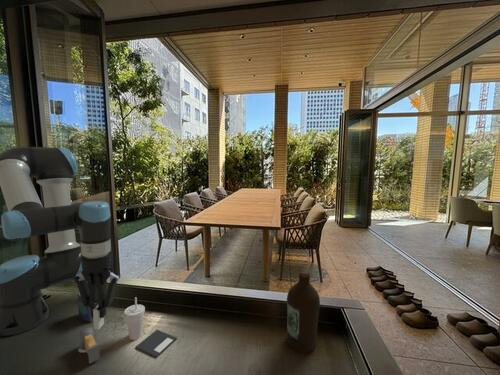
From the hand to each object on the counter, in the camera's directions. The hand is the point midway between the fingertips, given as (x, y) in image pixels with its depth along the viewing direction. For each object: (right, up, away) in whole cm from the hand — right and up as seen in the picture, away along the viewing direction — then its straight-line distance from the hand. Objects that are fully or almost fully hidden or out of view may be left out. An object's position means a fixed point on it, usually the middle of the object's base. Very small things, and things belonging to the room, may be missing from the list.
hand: (99, 326), depth 77 cm
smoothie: (+8, -8, +8) cm, 14 cm away
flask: (-15, -6, +17) cm, 24 cm away
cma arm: (-3, -8, 0) cm, 8 cm away
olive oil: (+64, -9, +7) cm, 65 cm away
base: (-5, -8, +3) cm, 10 cm away
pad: (+16, -8, +5) cm, 19 cm away
